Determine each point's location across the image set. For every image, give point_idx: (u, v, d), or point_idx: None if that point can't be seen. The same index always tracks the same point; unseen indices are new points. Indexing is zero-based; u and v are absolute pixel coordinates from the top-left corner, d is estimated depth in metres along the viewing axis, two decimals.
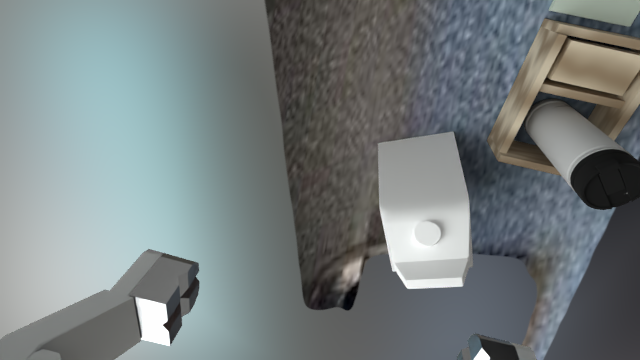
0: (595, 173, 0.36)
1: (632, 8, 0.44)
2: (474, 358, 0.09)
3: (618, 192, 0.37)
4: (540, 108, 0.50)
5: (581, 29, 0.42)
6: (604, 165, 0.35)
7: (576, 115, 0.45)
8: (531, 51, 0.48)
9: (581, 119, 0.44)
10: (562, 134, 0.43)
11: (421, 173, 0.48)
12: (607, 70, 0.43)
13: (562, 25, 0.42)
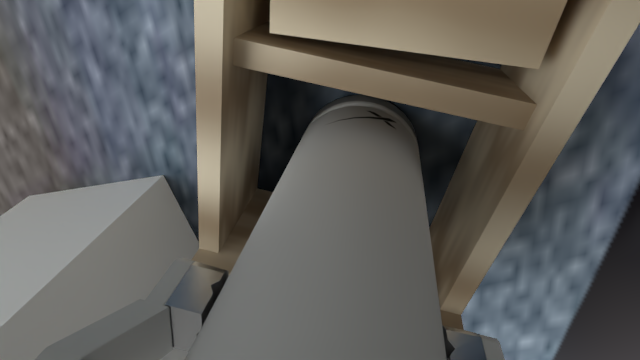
0: None
1: None
2: None
3: None
4: (313, 123, 0.17)
5: None
6: None
7: (356, 155, 0.12)
8: None
9: (352, 175, 0.11)
10: (248, 244, 0.10)
11: None
12: None
13: None
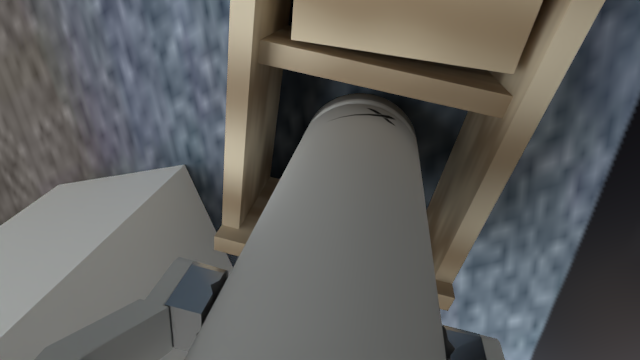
0: None
1: None
2: None
3: None
4: (314, 121, 0.18)
5: None
6: None
7: (357, 150, 0.13)
8: None
9: (353, 168, 0.12)
10: (252, 234, 0.11)
11: None
12: None
13: None
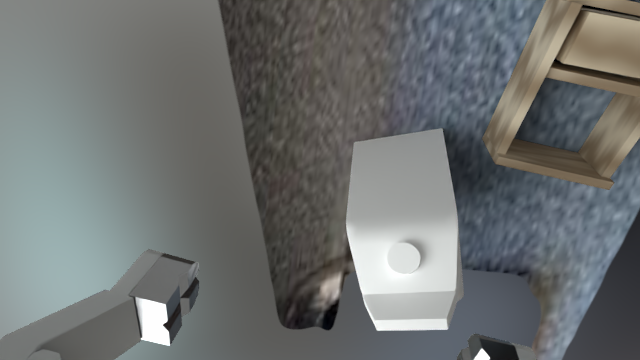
0: None
1: None
2: (474, 358, 0.09)
3: None
4: None
5: None
6: None
7: None
8: (536, 29, 0.39)
9: None
10: None
11: (401, 179, 0.39)
12: (636, 49, 0.34)
13: None
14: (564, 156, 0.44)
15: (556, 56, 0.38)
